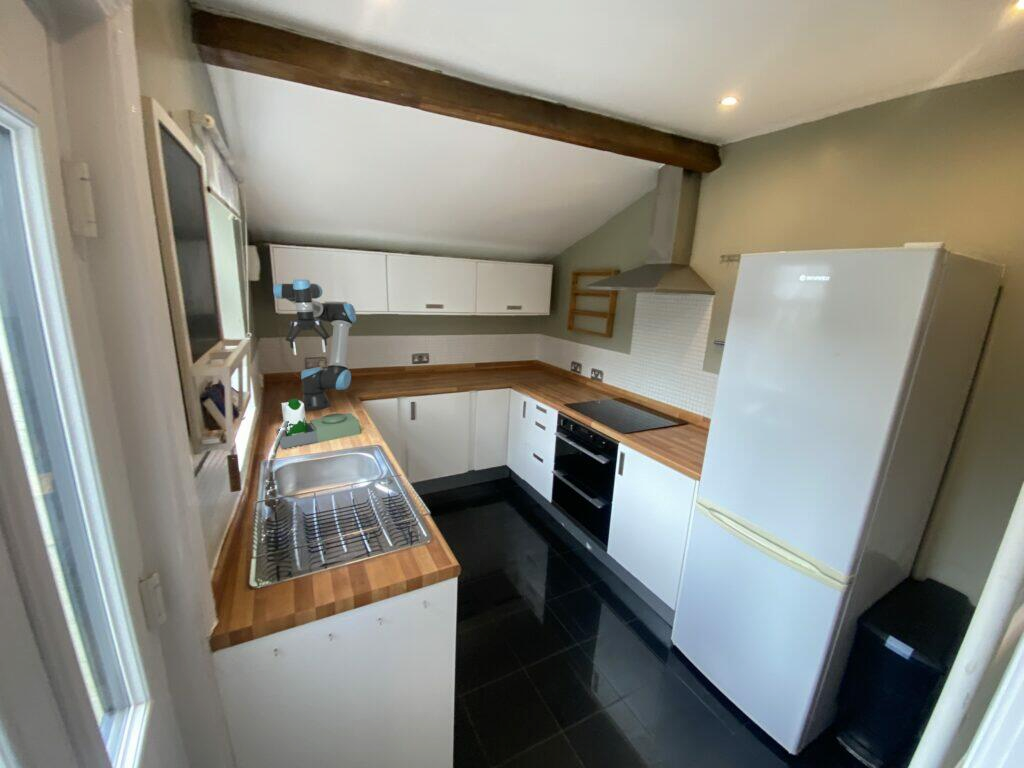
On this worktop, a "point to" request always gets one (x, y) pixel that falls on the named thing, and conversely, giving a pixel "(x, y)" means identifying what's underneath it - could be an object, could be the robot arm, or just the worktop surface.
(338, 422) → the side socket deck
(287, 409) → the soya milk
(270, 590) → the worktop surface
